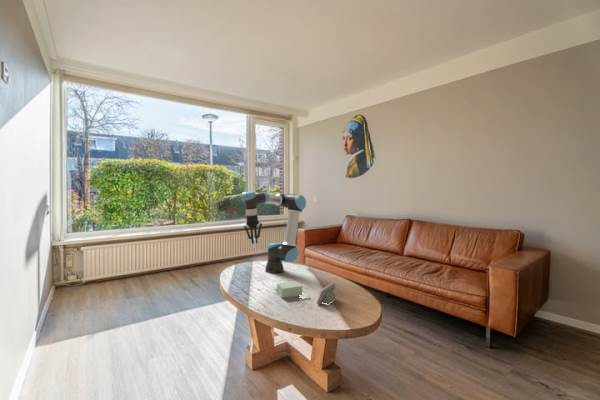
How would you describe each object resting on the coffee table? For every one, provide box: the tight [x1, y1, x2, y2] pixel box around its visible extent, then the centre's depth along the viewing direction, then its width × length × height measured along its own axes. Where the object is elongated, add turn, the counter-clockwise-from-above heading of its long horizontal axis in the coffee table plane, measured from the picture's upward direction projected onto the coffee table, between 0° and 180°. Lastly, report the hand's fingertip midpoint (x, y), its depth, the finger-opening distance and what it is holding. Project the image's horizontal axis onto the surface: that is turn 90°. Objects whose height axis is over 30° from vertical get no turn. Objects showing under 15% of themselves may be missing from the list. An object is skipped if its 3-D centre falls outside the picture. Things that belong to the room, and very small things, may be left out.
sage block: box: [276, 280, 303, 299], centre depth 188 cm, size 6×10×14 cm
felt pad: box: [274, 288, 304, 303], centre depth 189 cm, size 16×22×1 cm
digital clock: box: [316, 282, 336, 305], centre depth 178 cm, size 16×9×11 cm, turn 135°
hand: (255, 247), depth 197 cm, fingers closed
